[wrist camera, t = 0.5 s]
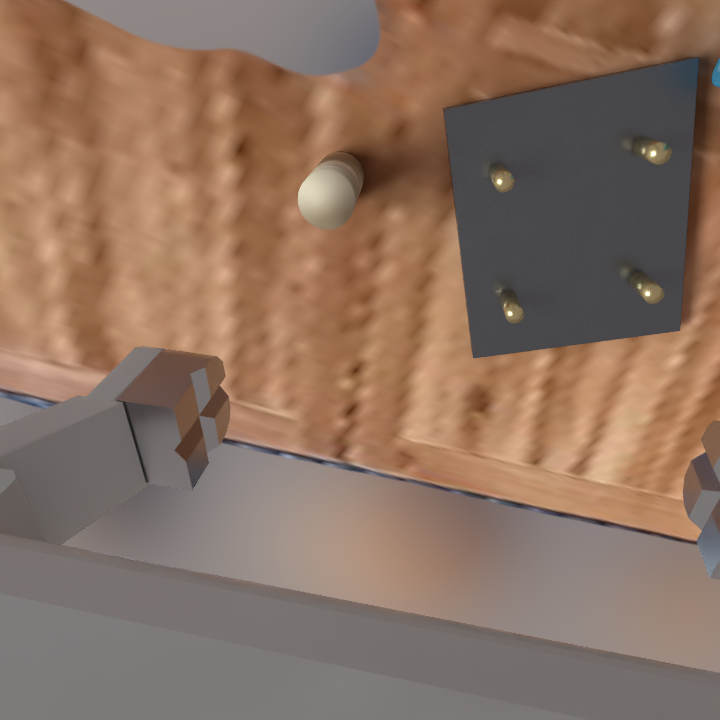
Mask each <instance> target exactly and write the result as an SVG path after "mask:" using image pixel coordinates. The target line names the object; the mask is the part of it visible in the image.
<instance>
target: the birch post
mask: <svg viewBox="0 0 720 720" xmlns="http://www.w3.org/2000/svg"><path fill="white" fill-rule="evenodd" d="M363 183H364V171H363V168H362V166H361V164H360V162H359V161H358V160H357V159H356V158H355V157H354V156H352V155H351V154H349V153H346V152H334V153H331V154H329V155H327V156H326V157H325V158H324V159H323V160H322V161H321V162H320V163H319V165H318V166H317V167H316V168H315V169H314V170H313V172H312V173H311V174H310V175H309V176H308V177H307V179H306V180H305V181H304V182H303V184H302V185H301V187H300V190H299V194H298V204H299V208H300V211H301V213H302V215H303V216H304V218H305V219H306V220H307V221H308V222H309V223H310V224H312V225H313V226H315V227H318V228H321V229H334V228H337V227H340V226H341V225H343V224H344V223H345V222H346V221H347V220H348V219H349V218H350V216H351V215H352V212H353V210H354V207H355V205H356V202H357V199H358V197H359V194H360V191H361V189H362V186H363Z"/></svg>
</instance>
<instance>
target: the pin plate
mask: <svg viewBox="0 0 720 720" xmlns="http://www.w3.org/2000/svg"><path fill="white" fill-rule="evenodd" d="M698 63H699V57H690V58H685V59H680V60H676V61H671V62H666V63H661V64H656V65H651V66H646V67H642V68H637V69H632V70H627V71H622V72H617V73H612V74H607V75H603V76H598V77H593V78H588V79H583V80H578V81H573V82H569V83H564V84H559V85H554V86H549V87H544V88H539V89H535V90H530V91H525V92H520V93H515V94H510V95H505V96H501V97H496V98H491V99H486V100H481V101H476V102H471V103H466V104H462V105H457V106H452V107H447V108H443V112H444V120H445V129H446V137H447V146H448V154H449V163H450V171H451V179H452V188H453V196H454V205H455V213H456V221H457V230H458V238H459V247H460V255H461V264H462V272H463V280H464V289H465V297H466V306H467V314H468V322H469V331H470V339H471V348H472V354H473V358H479V357H487V356H494V355H502V354H509V353H517V352H524V351H532V350H539V349H547V348H554V347H562V346H569V345H577V344H584V343H592V342H599V341H607V340H614V339H622V338H629V337H637V336H644V335H652V334H659V333H667V332H674V331H680V324H681V309H682V295H683V280H684V266H685V251H686V237H687V222H688V208H689V194H690V179H691V165H692V150H693V136H694V121H695V107H696V92H697V78H698Z"/></svg>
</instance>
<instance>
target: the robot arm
mask: <svg viewBox="0 0 720 720" xmlns="http://www.w3.org/2000/svg"><path fill="white" fill-rule="evenodd" d="M225 377H226V376H225V371H224V366H223V361H222V360H221V359H219V358H218V357H216V356H210V355H203V354H196V353H190V352H183V351H176V350H170V349H167V350H166V349H162V348H154V347H147V346H141V347H136V348H134V349H133V350H132V351H131V352H130V353H129V354H128V355H127V356H126V357H125V358H124V359H123V360H122V361H121V362H120V363H119V364H118V365H117V366H116V367H115V368H114V370H113V371H112V372H111V373H110V374H109V375H108V376H107V377H106V378H105V379H104V380H103V381H102V382H101V383H100V384H99V385H98V386H97V387H96V388H95V389H94V390H93V391H92V392H91V393H90V394H89V395H88V396H87V397H84V396H76V397H74V398H71V399H69V400H66V401H64V402H61V403H59V404H56V405H54V406H51V407H49V408H46V409H44V410H41V411H39V412H36V413H34V414H31V415H28V416H26V417H24V418H21V419H19V420H16V421H13V422H11V423H8V424H6V425H3V426H1V427H0V720H720V673H717V672H712V671H706V670H701V669H696V668H691V667H686V666H681V665H676V664H670V663H665V662H660V661H655V660H650V659H645V658H640V657H635V656H629V655H624V654H619V653H614V652H609V651H604V650H599V649H593V648H588V647H583V646H578V645H573V644H568V643H563V642H557V641H552V640H547V639H542V638H537V637H532V636H526V635H522V634H516V633H511V632H506V631H501V630H496V629H491V628H486V627H480V626H475V625H470V624H465V623H460V622H454V621H450V620H444V619H439V618H434V617H429V616H424V615H419V614H414V613H408V612H403V611H398V610H393V609H388V608H383V607H378V606H372V605H367V604H362V603H357V602H352V601H347V600H341V599H336V598H331V597H326V596H321V595H315V594H310V593H306V592H300V591H295V590H290V589H285V588H280V587H275V586H270V585H264V584H259V583H254V582H249V581H244V580H239V579H234V578H228V577H222V576H218V575H213V574H208V573H203V572H198V571H192V570H187V569H182V568H177V567H172V566H166V565H162V564H156V563H151V562H146V561H141V560H136V559H130V558H126V557H120V556H115V555H110V554H104V553H100V552H94V551H89V550H84V549H78V548H74V547H69V546H63V545H61V544H63V543H64V542H66V541H67V540H68V539H70V538H71V537H73V536H74V535H76V534H77V533H79V532H80V531H82V530H83V529H85V528H86V527H88V526H89V525H91V524H92V523H93V522H95V521H96V520H98V519H99V518H100V517H102V516H103V515H105V514H106V513H108V512H110V511H111V510H112V509H114V508H115V507H117V506H118V505H120V504H121V503H123V502H124V501H126V500H127V499H129V498H130V497H132V496H133V495H135V494H136V493H138V492H139V491H140V490H142V489H143V488H145V487H146V486H147V484H154V485H161V486H168V487H175V488H182V489H189V490H193V488H194V487H195V485H196V483H197V481H198V480H199V478H200V477H201V475H202V473H203V472H204V470H205V468H206V467H207V465H208V464H209V461H208V456H207V452H209V451H210V450H212V449H214V448H216V447H218V446H219V445H220V443H221V442H222V440H223V438H224V436H225V435H226V431H227V428H228V424H229V420H230V402H229V396H228V395H227V394H226V393H225V391H224V390H223V389H222V388H221V387H220V384H221V383H222V381H223V380H224V378H225ZM701 441H702V443H703V446H704V448H705V451H706V452H705V453H703V454H701V455H700V456H698V457H696V458H695V459H693V460H691V462H690V465H689V467H688V470H687V472H686V474H685V479H684V487H683V498H684V505H685V509H686V512H687V515H688V518H689V519H690V520H691V521H692V522H694V523H695V524H696V525H697V526H698V527H699V528H700V529H701V530H702V532H701V534H700V535H699V537H698V539H697V544H698V547H699V549H700V552H701V555H702V558H703V560H704V563H705V566H706V569H707V572H708V575H709V577H710V578H714V579H719V580H720V421H715V420H714V421H713V422H712V423H711V424H710V425H709V426H708V427H707V428H706V430H705V432H704V434H703V436H702V439H701Z"/></svg>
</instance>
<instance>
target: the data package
mask: <svg viewBox="0 0 720 720" xmlns="http://www.w3.org/2000/svg"><path fill="white" fill-rule="evenodd" d="M712 83H713V85H715V86H717V87H719V88H720V58H719V60H718V62H717V64H716V66H715V68H714V70H713V74H712Z"/></svg>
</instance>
